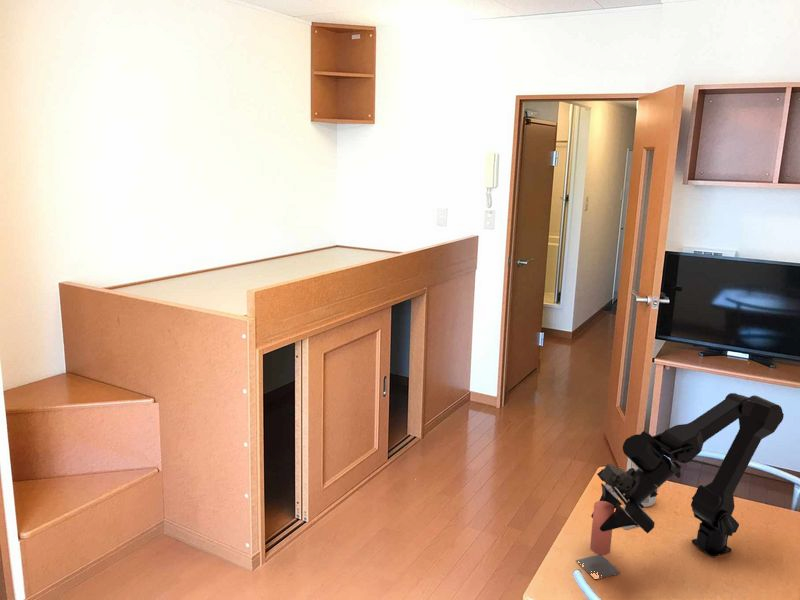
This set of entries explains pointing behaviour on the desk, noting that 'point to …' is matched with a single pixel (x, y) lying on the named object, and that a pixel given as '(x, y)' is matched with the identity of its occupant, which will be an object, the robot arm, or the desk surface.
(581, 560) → the pad
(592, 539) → the red plug
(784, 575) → the desk surface
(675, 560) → the desk surface
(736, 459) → the robot arm
